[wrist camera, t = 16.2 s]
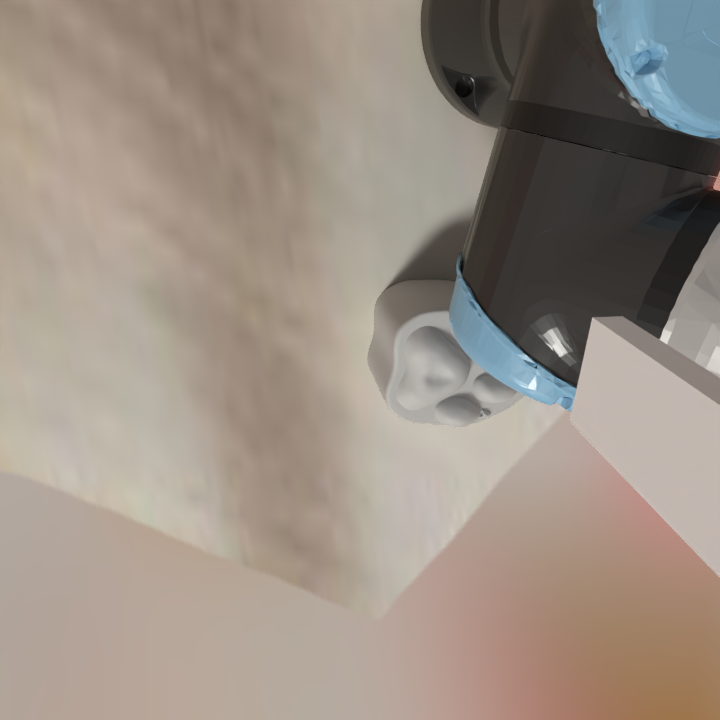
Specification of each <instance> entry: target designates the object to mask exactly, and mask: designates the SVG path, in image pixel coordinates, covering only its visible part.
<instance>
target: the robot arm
mask: <svg viewBox="0 0 720 720" xmlns="http://www.w3.org/2000/svg"><path fill="white" fill-rule="evenodd" d="M421 36H422V44H423V50H424V54H425V58H426V62H427V65H428V68H429V70H430V73H431V75H432V77H433V79H434V81H435V83H436V85H437V87H438V88H439V90H440V91H441V93H442V94H443V95H444V97H445V98H446V99H447V100H448V102H449V103H450V104H451V105H452V106H453V107H454V108H455V109H457V110H458V111H459V112H460V113H462V114H463V115H465V116H466V117H468V118H469V119H471V120H473V121H475V122H477V123H480V124H483V125H486V126H490V127H494V128H498V132H497V136H496V139H495V142H494V146H493V149H492V153H491V156H490V159H489V163H488V166H487V170H486V173H485V177H484V180H483V183H482V187H481V190H480V194H479V197H478V200H477V204H476V207H475V211H474V214H473V217H472V221H471V224H470V228H469V231H468V234H467V238H466V241H465V245H464V248H463V251H462V252H461V253H460V254H459V256H458V259H457V262H456V273H457V277H456V281H455V286H454V290H453V294H452V298H451V302H450V307H449V322H450V325H451V327H452V330H453V332H454V335H455V338H456V340H457V342H458V344H459V345H460V346H461V348H462V349H463V350H464V351H465V353H466V354H467V355H468V356H469V357H470V358H471V359H472V360H473V361H474V362H475V363H476V364H477V365H479V366H480V367H481V368H482V369H483V370H485V371H486V372H487V373H489V374H490V375H491V376H493V377H494V378H496V379H497V380H499V381H500V382H502V383H503V384H505V385H507V386H509V387H510V388H512V389H514V390H516V391H517V392H519V393H521V394H523V395H525V396H528V397H530V398H532V399H534V400H537V401H539V402H542V403H545V404H548V405H552V404H554V403H555V402H556V403H557V404H559V405H561V406H562V407H563V408H565V409H566V410H568V411H572V412H571V417H570V423H571V424H573V426H574V427H575V428H576V429H577V430H578V431H579V432H580V433H581V434H582V435H583V436H584V437H585V438H586V439H587V440H588V441H589V442H590V443H591V444H592V445H593V446H594V447H595V448H596V450H598V452H599V453H600V454H601V455H602V456H603V457H604V458H605V459H606V460H607V461H608V462H609V463H610V464H611V465H612V466H613V467H614V468H615V469H616V470H617V471H618V472H619V473H620V474H621V475H622V476H623V478H624V479H625V480H626V481H627V482H628V483H629V484H630V485H631V486H632V487H633V488H634V489H635V490H636V491H637V492H638V493H639V494H640V495H641V496H642V497H643V498H644V499H645V500H646V501H647V503H649V505H650V506H651V507H652V508H653V509H654V510H655V511H656V512H657V513H658V514H659V515H660V516H661V517H662V518H663V519H664V520H665V521H666V522H667V523H668V524H669V525H670V526H671V528H672V529H673V530H675V532H676V533H677V534H678V535H679V536H680V537H681V538H682V539H683V540H684V541H685V542H686V543H687V544H688V545H689V546H690V547H691V548H692V549H693V550H694V551H695V552H696V553H697V554H698V556H699V557H700V558H701V559H702V560H703V561H704V562H705V563H706V564H707V565H708V566H709V567H710V568H711V569H712V570H713V571H714V572H715V573H716V574H717V575H718V576H719V577H720V191H717V190H715V189H713V186H714V183H715V181H716V179H717V178H715V177H711V176H716V177H718V174H719V171H720V0H423V2H422V10H421ZM521 131H523V132H521ZM525 132H526V133H525ZM530 133H531V134H530ZM534 134H536V135H534ZM538 135H539V136H538ZM542 136H543V137H542ZM551 138H552V139H551ZM555 139H556V140H555ZM568 142H569V143H568ZM572 143H573V144H572ZM577 144H578V145H577ZM581 145H582V146H581ZM585 146H586V147H585ZM589 147H590V148H589ZM602 150H603V151H602ZM606 151H607V152H606ZM623 155H624V156H623ZM707 175H709V176H707Z"/></svg>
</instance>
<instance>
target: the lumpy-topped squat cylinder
mask: <svg viewBox="0 0 720 720" xmlns="http://www.w3.org/2000/svg"><path fill="white" fill-rule="evenodd" d="M454 286H455V281H449V280H436V279H428V280H408V281H403V282H399V283H397V284H394V285H392V286H391V287H389V288H388V289H386V290H385V291H384V292H383V293H382V294H381V295H380V296H379V298H378V299H377V301H376V304H375V309H374V334H373V338H372V341H371V345H370V348H369V351H368V357H367V361H368V366H369V368H370V370H371V372H372V374H373V376H374V379H375V381H376V383H377V385H378V387H379V389H380V391H381V394H382V396H383V398H384V400H385V402H386V404H387V406H388V407H389V409H390V410H391V411H392V412H393V413H394V414H395V415H397V416H398V417H400V418H402V419H404V420H406V421H409V422H413V423H421V424H432V425H447V426H451V427H465V426H467V425H469V424H471V423H476V422H479V421H482V420H484V419H487V418H489V417H491V416H494V415H496V414H498V413H500V412H502V411H504V410H506V409H508V408H509V407H511V406H512V405H514V404H515V403H516V402H518V401H519V400H520V399H521V398H522V397H523V396H524V395H523V394H521V393H519V392H517V391H516V390H514V389H512V388H510V387H509V386H507V385H505V384H503V383H502V382H500V381H499V380H497V379H496V378H494V377H493V376H491V375H490V374H489V373H487V372H486V371H485V370H483V369H482V368H481V367H480V366H479V365H477V364H476V363H475V362H474V361H473V360H472V359H471V358H470V357H469V356H468V355H467V354H466V353H465V351H464V350H463V349H462V348H461V346H460V345H459V344H458V342H457V340H456V338H455V335H454V332H453V330H452V327H451V325H450V322H449V307H450V302H451V298H452V294H453V290H454Z"/></svg>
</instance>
